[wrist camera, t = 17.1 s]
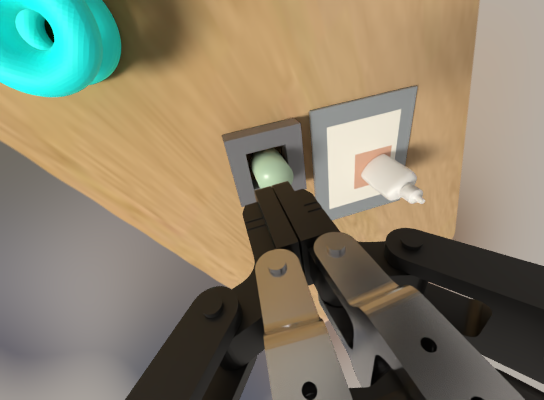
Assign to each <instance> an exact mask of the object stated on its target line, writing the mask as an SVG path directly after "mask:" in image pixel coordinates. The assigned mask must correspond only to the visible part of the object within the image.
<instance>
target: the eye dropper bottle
mask: <svg viewBox="0 0 544 400" xmlns="http://www.w3.org/2000/svg"><path fill="white" fill-rule="evenodd" d="M361 177H362V178H363V179H364V180H365V181H366V182H367V183H368V184H369V185H370V186H372V187H373V188H374V189H375V190H377V191H378V192H379V193H380V194H381V195H383V196H384V197H385V198H386V199H388V200H390V201H393V200H397V199H399V198H401V197H402V198H404V199H405V200H406V201H408V202H409V203H412V204H413V203H416V202H418V203H421V204H423V203H424V202H425V200H424V199H423V198H422V196H423V192H422V190H421V189H419V188H418V187H416V186H415V183H416V180H417V176H416V175H415V173H414V172H413V171H412V170H410V169H409V168H407V167H406V166H404V165H402V164H401V163H399V162H397V161H396V160H394V159H392V158H391V157H389V156H387V155H385V154H381V155H379V156H377V157H376V158H374V159H373V160H372V161H370V162H369V163H368V164H367V166H366V167H365V168H364V170H363V171H362V173H361Z"/></svg>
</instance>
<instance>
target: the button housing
mask: <svg viewBox="0 0 544 400" xmlns="http://www.w3.org/2000/svg"><path fill="white" fill-rule="evenodd" d="M222 138H223V141H224V145H225V149H226V152H227V156H228V160H229V163H230V167H231V170H232V174H233V178H234V181H235V185H236V189H237V192H238V196H239V199H240V203H241V206H242V207H244V206H245V205H248V204H252V203H255V202H256V198H255V194H254V190H258V189H261V188H260V187H259V184H258V182H257V180H251V175H250V171H249V167H248V162H247V158H246V154H249V153H253V152H257V151H261V150H265V149H269V148H273V147H277V146H281V148H282V155H283V159H284V160H285V161H286V163H287V164H288V165H289V167H290V168H291V169H292V171H293V182H292V184H291V186H292V188H293V189H294V191H297V190H300V189H307V188H306V177H305V167H304V156H303V145H302V134H301V123H300V122H298V121H297V120H296V119H294V118H291V119H287V120H283V121H278V122H274V123H270V124H266V125H262V126H258V127H253V128H249V129H245V130H241V131H237V132H233V133H228V134H224V135H222Z"/></svg>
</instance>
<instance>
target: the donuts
mask: <svg viewBox="0 0 544 400" xmlns="http://www.w3.org/2000/svg"><path fill="white" fill-rule="evenodd" d="M45 19H46V20H47V21H48V22H49V24H50V26H51V27H52V30H53V33H54V42H52V40H51V39H50V38H49V37H48V35H47V33H46V30H45V25H44V24H45ZM120 56H121V39H120V34H119V30H118V27H117V24H116V22H115V20H114V18H113V16H112V14H111V12H110V11H109V9H108V8H107V6H106V5H105V3H104V2H103V1H102V0H0V82H1V83H3V84H5V85H7V86H9V87H11V88H13V89H16V90H18V91H21V92H24V93H27V94H31V95H36V96H43V97H62V96H68V95H71V94H74V93H77V92H79V91H81V90H83V89H84V88H86V87H87V86H88V85H92V84H96V83H98V82H101V81H103V80H105V79H106V78H108V77H109V76H110V75H111V74H112V73H113V72H114V70H115V69H116V67H117V65H118V63H119V60H120Z"/></svg>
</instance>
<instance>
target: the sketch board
mask: <svg viewBox="0 0 544 400" xmlns="http://www.w3.org/2000/svg"><path fill="white" fill-rule="evenodd" d="M416 93H417V86H411V87H407V88H403V89H398V90H394V91H390V92H386V93H382V94H377V95H373V96H369V97H365V98H361V99H356V100H352V101H348V102H344V103H340V104H335V105H331V106H327V107H323V108H319V109H314V110H310V111H309V118H310V132H311V146H312V160H313V175H314V189H315V198H316V200H317V201H318V202H319V204H320V205H321V206H322V209H324V211H325V212H326V213H327V215H328V216H329V217H330V219H331V220H335V219H338V218H341V217H345V216H348V215H351V214H355V213H358V212H361V211H365V210H368V209H371V208H375V207H378V206H381V205H385V204H388V203H391V202H395V201H398V200H400V198H399V199H397V200H393V201H390V200H388V199H386V198H385V197H384V196H383V195H381V194H380V193H379V192H378V191H377V190H375V189H374V188H373V187H372V186H370V185H369V184H368V183H367V182H366V181H365V180H364V179H363V178H362V177H361V173H362V171H363V170H364V168H365V167H366V166H367V164H368V163H369V162H370V161H372V160H373V159H374V158H376V157H377V156H379V155H381V154H385V155H387V156H389V157H391V158H392V159H394V160H396V161H397V162H399V163H401V164H402V165H404V166H405V163H406V156H407V150H408V144H409V137H410V131H411V125H412V118H413V112H414V106H415V99H416Z"/></svg>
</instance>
